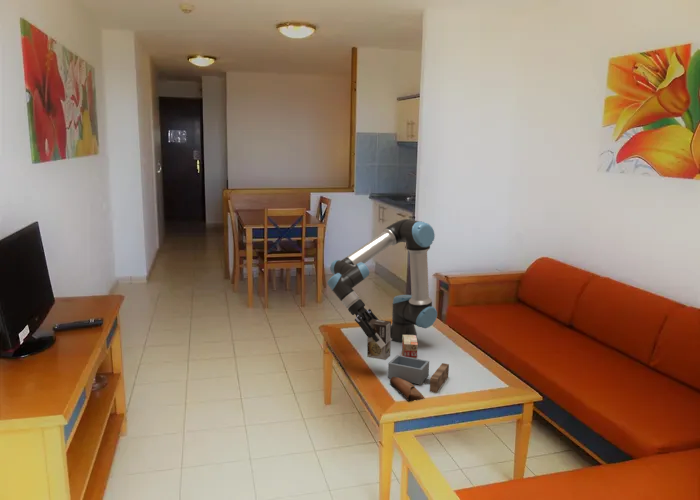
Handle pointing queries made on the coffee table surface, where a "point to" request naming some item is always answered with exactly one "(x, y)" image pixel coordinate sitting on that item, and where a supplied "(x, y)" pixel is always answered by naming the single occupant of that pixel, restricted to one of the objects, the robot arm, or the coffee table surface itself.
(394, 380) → the sunglasses case
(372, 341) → the coffee box
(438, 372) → the walnut backstop
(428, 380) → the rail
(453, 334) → the coffee table surface
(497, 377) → the coffee table surface
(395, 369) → the box
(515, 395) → the coffee table surface
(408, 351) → the stack of blocks
